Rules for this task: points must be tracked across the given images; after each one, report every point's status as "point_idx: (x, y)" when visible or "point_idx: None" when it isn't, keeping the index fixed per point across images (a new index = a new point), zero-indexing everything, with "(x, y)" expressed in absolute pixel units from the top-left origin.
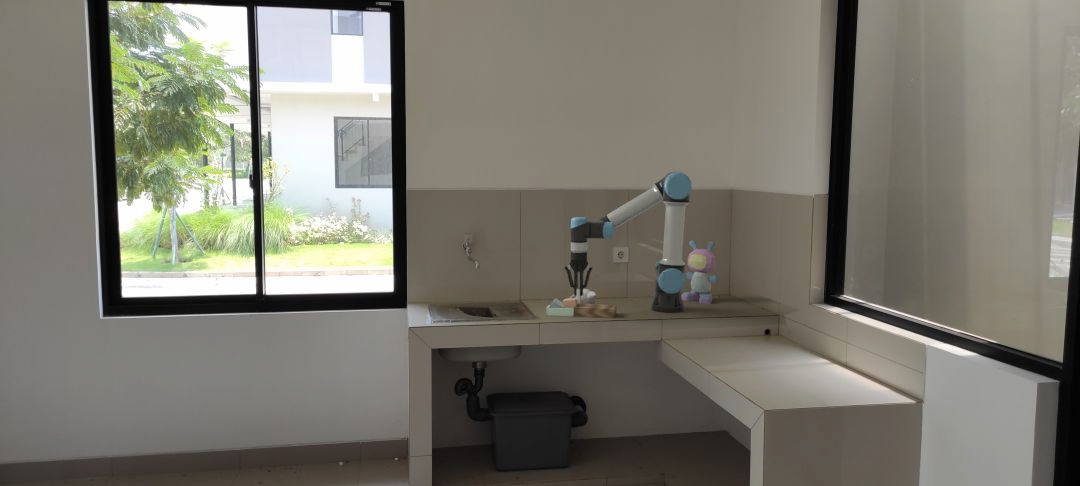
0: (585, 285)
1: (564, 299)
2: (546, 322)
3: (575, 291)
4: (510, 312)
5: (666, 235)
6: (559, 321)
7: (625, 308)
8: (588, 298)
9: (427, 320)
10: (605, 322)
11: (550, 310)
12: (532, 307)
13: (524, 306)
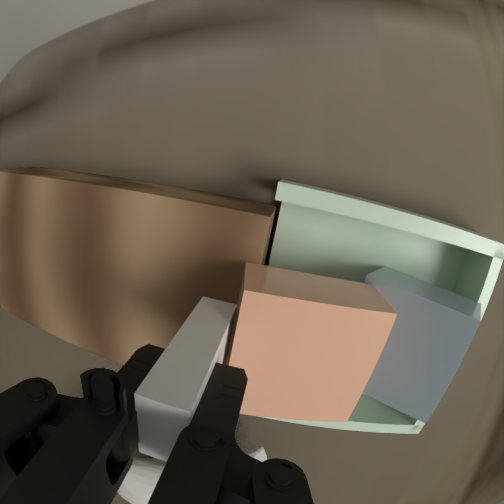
0: (20, 398)
1: (360, 389)
2: (452, 8)
3: (221, 403)
4: None
5: None
6: (378, 18)
7: None
8: (164, 466)
9: None
10: (76, 35)
11: (470, 231)
12: (475, 435)
13: (494, 442)
